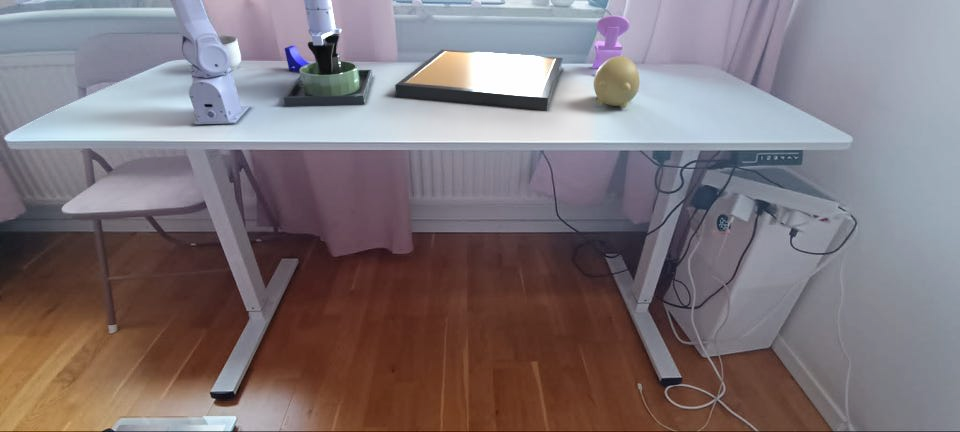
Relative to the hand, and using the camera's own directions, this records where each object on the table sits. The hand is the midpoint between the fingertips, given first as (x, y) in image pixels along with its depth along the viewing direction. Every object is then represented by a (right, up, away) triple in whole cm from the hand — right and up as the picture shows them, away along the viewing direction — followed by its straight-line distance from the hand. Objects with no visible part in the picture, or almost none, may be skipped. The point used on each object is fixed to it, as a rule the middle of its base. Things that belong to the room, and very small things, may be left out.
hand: (329, 70), depth 109 cm
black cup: (0, -1, +1) cm, 2 cm away
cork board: (+37, 0, +10) cm, 39 cm away
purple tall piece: (+70, +5, +19) cm, 73 cm away
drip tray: (0, -4, +3) cm, 5 cm away
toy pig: (+66, -9, -3) cm, 67 cm away
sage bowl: (0, -4, +3) cm, 5 cm away
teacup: (-36, +5, +17) cm, 40 cm away
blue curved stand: (-10, +5, +17) cm, 20 cm away
